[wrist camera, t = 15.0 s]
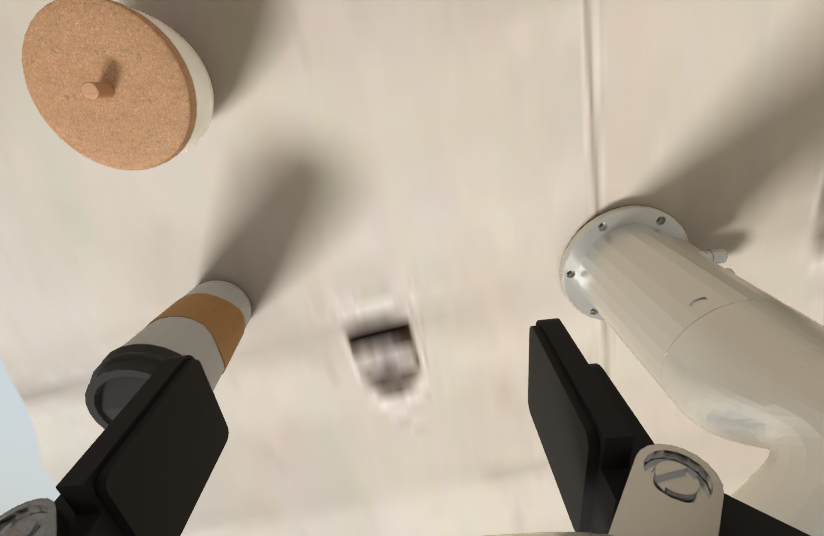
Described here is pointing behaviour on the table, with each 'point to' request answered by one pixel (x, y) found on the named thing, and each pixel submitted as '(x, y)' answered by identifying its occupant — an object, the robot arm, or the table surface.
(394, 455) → the table surface
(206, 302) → the coffee cup
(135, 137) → the lidded jar
